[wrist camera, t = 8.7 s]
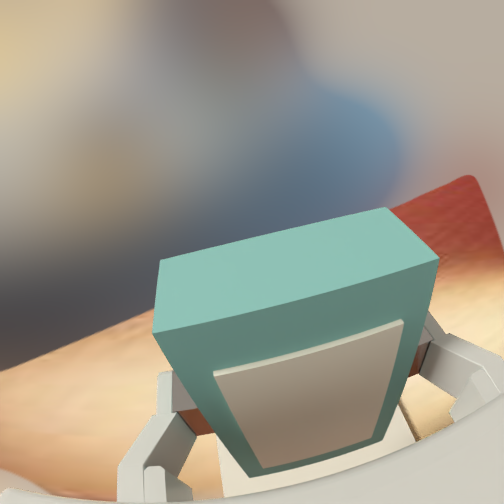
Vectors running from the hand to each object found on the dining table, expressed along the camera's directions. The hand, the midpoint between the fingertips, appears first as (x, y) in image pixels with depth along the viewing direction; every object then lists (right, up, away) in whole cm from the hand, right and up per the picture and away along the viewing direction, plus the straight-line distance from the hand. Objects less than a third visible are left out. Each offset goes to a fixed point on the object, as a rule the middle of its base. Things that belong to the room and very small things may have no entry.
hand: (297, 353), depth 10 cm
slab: (+1, -5, +2) cm, 6 cm away
